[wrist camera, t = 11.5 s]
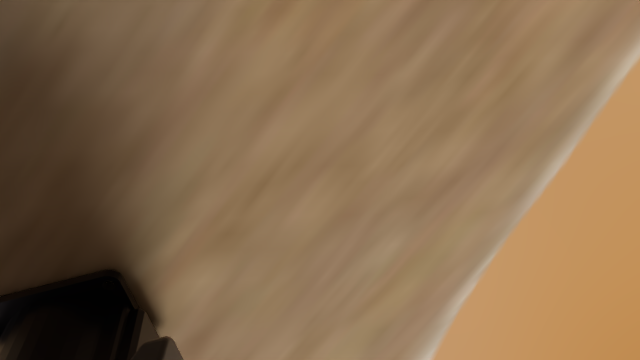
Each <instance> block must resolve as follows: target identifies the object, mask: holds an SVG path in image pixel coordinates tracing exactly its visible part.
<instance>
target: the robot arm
mask: <svg viewBox="0 0 640 360" xmlns="http://www.w3.org/2000/svg"><path fill="white" fill-rule="evenodd" d="M105 281H112V282H113V283H114V284H108V283H106V282H105ZM0 360H183V358H182V356H181V354H180V352H179V350H178V348H177V346H176V344H175V342H174V340H173V339H172V338H171V337H167V336H166V337H161V338H159V336H158V334H157V332H156V330H155V328H154V326H153V324H152V323H151V321H150V319H149V317H148V315H147V313H146V311H144V310H143V309H141V308H139V307H138V305H137V303H136V301H135V299H134V297H133V296H132V294H131V292H130V290H129V288H128V286H127V284H126V282H125V280H124V279H123V277H122V275H121V274H120V273H119V272H117V271H114V270H104V271H100V272H96V273H92V274H89V275H85V276H81V277H77V278H73V279H69V280H65V281H61V282H57V283H53V284H49V285H45V286H41V287H37V288H33V289H29V290H25V291H21V292H18V293H14V294H10V295H6V296H2V297H0Z"/></svg>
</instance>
